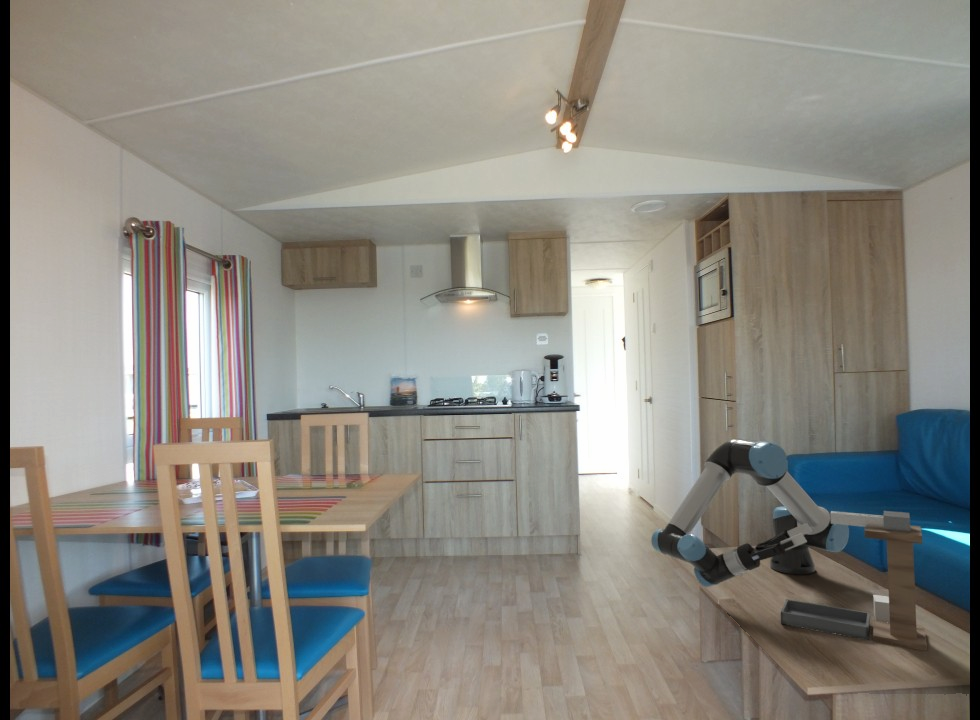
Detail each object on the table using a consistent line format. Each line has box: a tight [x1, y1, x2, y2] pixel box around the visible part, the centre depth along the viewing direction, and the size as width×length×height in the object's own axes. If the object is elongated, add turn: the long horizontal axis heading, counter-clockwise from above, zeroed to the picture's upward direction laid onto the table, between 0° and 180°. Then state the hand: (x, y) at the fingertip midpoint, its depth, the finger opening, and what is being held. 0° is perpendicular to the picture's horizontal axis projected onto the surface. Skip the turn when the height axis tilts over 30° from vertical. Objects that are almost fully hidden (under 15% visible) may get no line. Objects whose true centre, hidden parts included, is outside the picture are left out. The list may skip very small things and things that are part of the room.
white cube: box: [872, 594, 890, 623], centre depth 182 cm, size 6×6×6 cm
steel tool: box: [829, 510, 911, 533], centre depth 174 cm, size 7×19×4 cm, turn 57°
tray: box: [780, 598, 871, 641], centre depth 179 cm, size 12×22×4 cm, turn 57°
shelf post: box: [864, 524, 928, 652], centre depth 170 cm, size 12×13×30 cm
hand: (807, 532), depth 182 cm, fingers open, 13 cm apart
